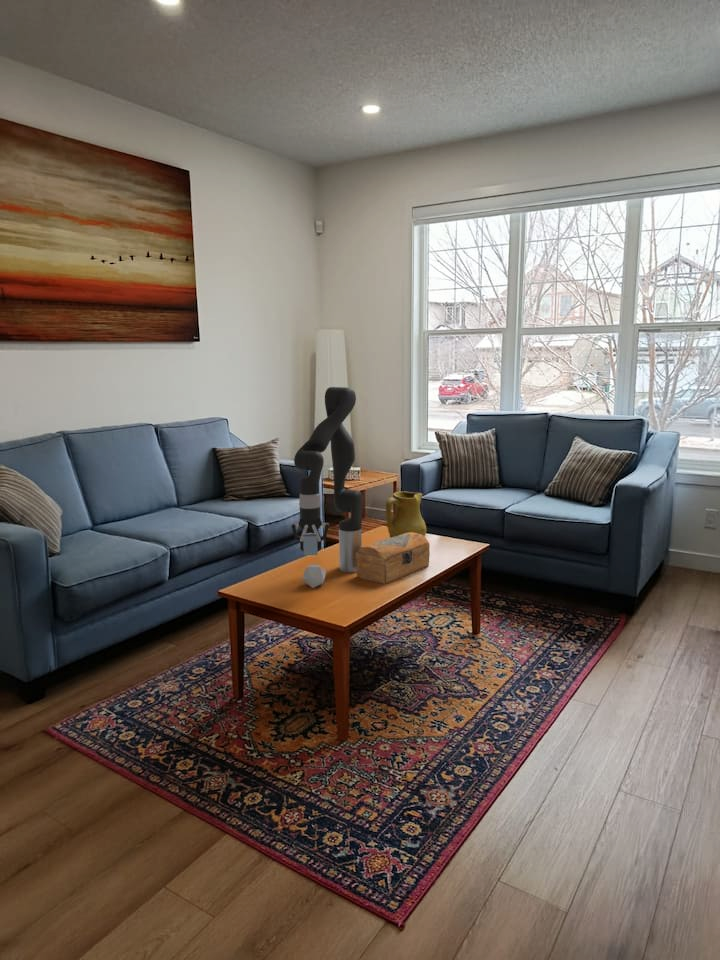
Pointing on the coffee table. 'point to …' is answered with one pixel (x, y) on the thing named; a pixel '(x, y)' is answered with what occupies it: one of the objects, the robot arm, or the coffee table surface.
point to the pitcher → (405, 514)
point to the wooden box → (393, 558)
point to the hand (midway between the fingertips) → (310, 550)
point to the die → (314, 575)
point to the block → (310, 544)
